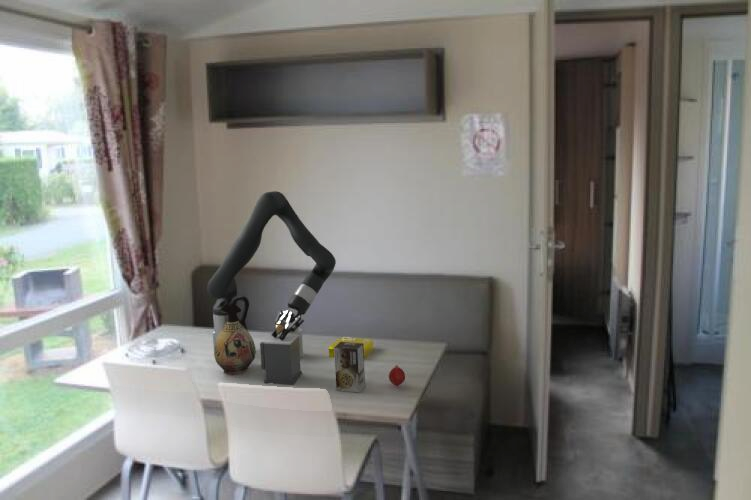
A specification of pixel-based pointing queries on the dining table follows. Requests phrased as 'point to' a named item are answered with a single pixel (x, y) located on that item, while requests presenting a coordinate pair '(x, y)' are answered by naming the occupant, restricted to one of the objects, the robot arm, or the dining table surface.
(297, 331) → the mug
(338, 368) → the coffee box
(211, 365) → the dining table surface
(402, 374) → the onion
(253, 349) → the ceramic jug
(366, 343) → the element tile
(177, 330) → the dining table surface
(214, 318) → the robot arm
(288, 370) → the gray rectangular box
